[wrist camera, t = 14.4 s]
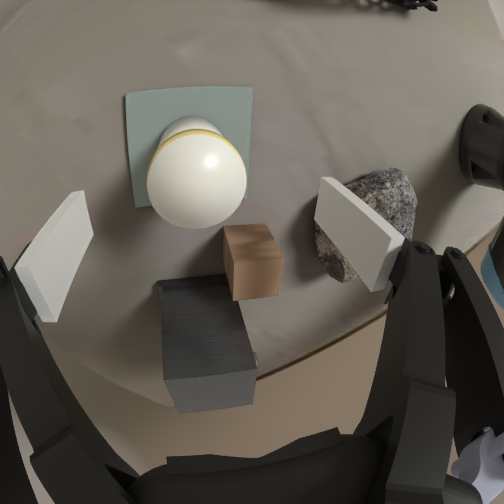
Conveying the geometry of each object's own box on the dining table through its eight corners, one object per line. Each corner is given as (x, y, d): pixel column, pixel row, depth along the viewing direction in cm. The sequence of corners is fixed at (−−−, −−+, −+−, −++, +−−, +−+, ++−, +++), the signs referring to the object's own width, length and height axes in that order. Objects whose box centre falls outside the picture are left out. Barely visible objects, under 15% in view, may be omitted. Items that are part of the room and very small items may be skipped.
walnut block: (265, 223, 32) (284, 258, 26) (261, 257, 35) (278, 295, 29) (223, 226, 31) (234, 263, 25) (223, 261, 34) (233, 301, 28)
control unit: (238, 272, 35) (268, 364, 24) (237, 322, 41) (260, 403, 30) (157, 280, 33) (157, 377, 22) (169, 330, 39) (176, 415, 27)
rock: (394, 157, 31) (295, 193, 31) (426, 174, 26) (317, 218, 26) (399, 230, 38) (316, 268, 39) (423, 253, 33) (334, 298, 34)
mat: (252, 87, 23) (253, 87, 22) (245, 197, 29) (246, 198, 29) (126, 93, 20) (125, 93, 19) (135, 205, 27) (135, 207, 26)
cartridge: (223, 114, 23) (250, 133, 14) (221, 174, 27) (245, 226, 18) (157, 117, 22) (141, 138, 13) (160, 178, 25) (151, 234, 17)
